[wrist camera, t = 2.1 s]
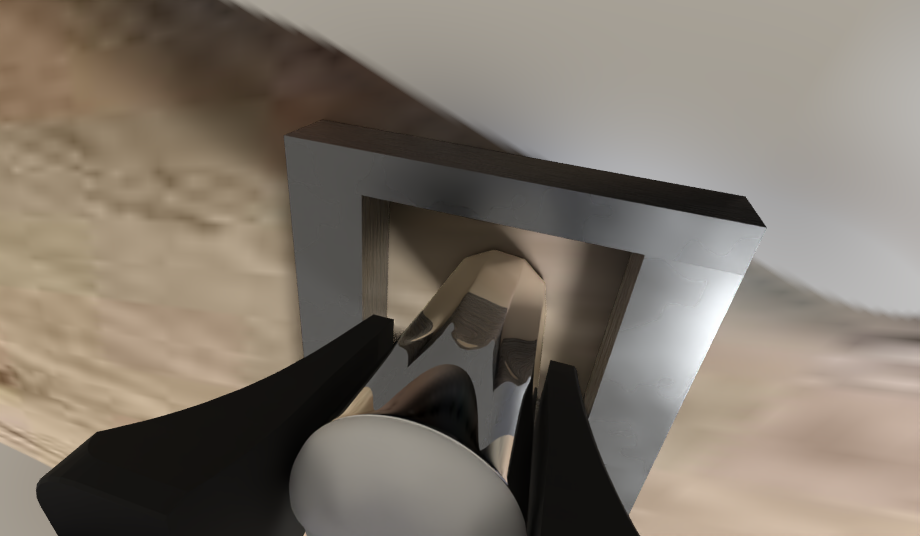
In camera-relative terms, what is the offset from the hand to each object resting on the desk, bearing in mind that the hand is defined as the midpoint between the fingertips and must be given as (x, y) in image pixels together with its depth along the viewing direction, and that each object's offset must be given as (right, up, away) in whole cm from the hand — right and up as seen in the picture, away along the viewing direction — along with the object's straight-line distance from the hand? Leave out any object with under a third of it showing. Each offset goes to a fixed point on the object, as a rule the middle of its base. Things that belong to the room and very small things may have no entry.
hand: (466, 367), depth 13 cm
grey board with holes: (0, -5, +7) cm, 9 cm away
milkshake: (+1, +2, +3) cm, 4 cm away
